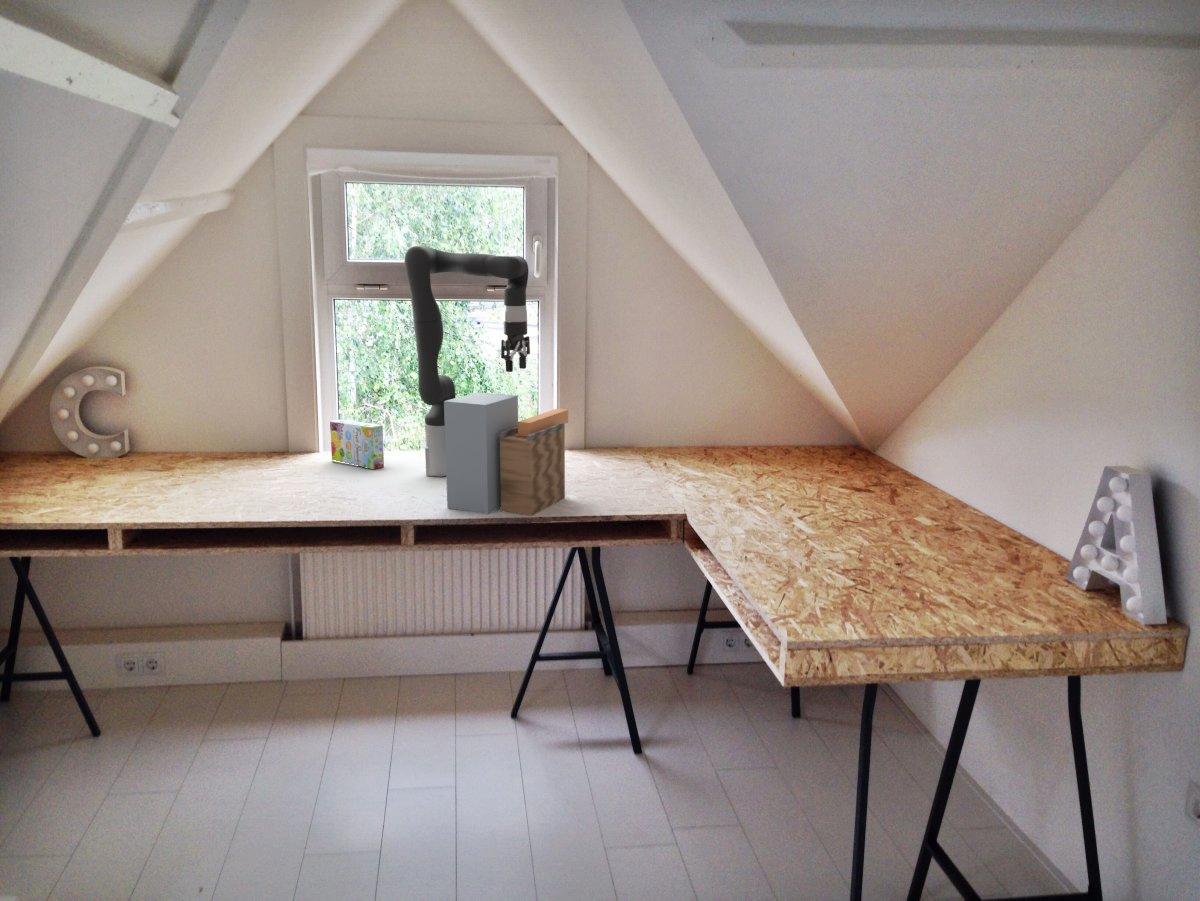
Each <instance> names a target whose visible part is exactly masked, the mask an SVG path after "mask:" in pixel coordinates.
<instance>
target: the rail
mask: <svg viewBox="0 0 1200 901" xmlns="http://www.w3.org/2000/svg"><path fill="white" fill-rule="evenodd" d="M560 423H565V424H567V423H569V409H564V408H555V409H552V410H549V411H546V412H543V413H540V414H536V415H534V416H531V417H528V418H525V419H521V420H518V435H519V436H527V435H530V434H532V433H535V432H538V431H541V430H543V429H546V428H549V427H551V426H554V425H557V424H560Z"/></svg>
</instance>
